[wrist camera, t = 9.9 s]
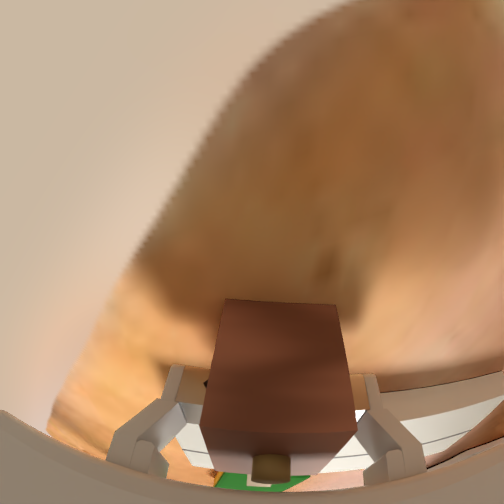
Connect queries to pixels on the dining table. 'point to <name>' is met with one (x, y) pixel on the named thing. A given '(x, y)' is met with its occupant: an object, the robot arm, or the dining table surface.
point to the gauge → (277, 391)
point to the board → (401, 420)
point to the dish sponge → (240, 483)
